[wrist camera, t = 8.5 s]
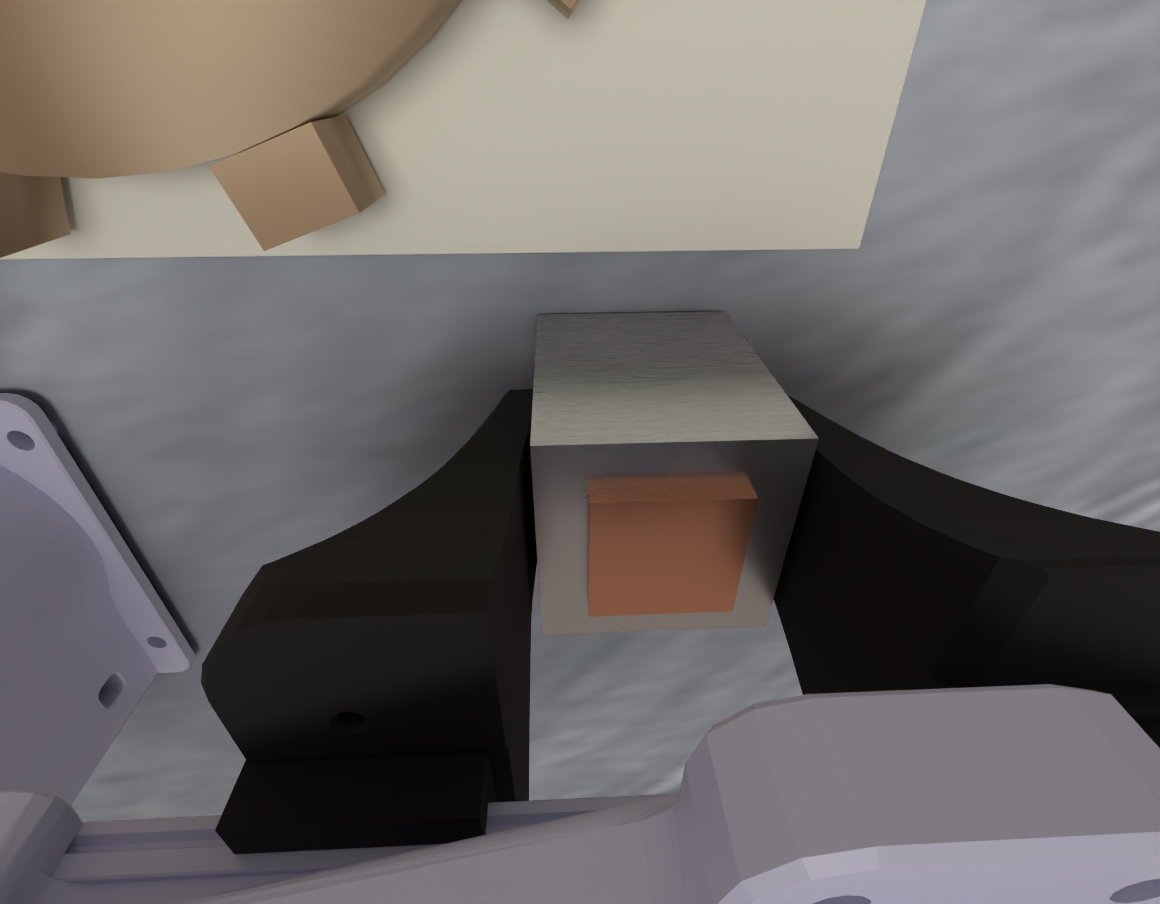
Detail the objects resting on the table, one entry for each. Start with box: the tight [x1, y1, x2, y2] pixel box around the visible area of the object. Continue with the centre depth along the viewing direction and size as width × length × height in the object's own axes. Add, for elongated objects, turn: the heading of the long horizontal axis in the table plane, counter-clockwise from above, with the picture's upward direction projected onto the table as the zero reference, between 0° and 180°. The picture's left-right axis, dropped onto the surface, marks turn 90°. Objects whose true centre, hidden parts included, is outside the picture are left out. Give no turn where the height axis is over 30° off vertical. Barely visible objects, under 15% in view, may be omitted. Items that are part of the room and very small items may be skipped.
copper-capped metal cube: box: [530, 311, 819, 635], centre depth 11 cm, size 4×4×5 cm
